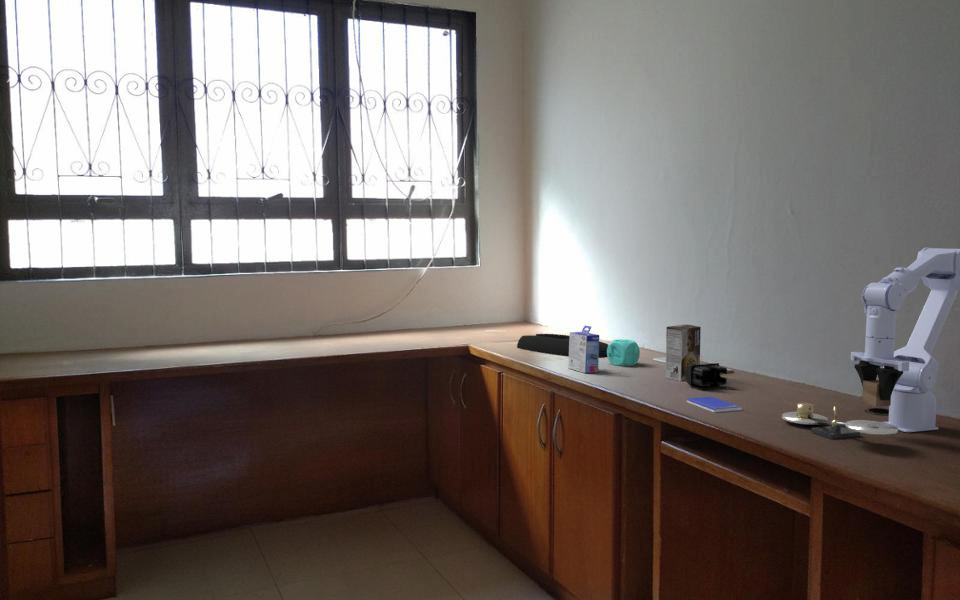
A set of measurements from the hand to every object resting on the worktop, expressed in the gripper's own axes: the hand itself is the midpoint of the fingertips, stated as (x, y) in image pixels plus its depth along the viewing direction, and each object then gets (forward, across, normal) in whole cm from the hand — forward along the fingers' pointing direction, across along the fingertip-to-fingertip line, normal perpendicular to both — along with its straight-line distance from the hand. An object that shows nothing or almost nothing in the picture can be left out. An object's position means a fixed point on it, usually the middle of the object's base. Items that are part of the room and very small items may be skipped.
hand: (876, 397), depth 169 cm
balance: (+8, -3, -8) cm, 12 cm away
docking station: (+9, -130, -19) cm, 132 cm away
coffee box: (+9, -70, -6) cm, 71 cm away
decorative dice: (+9, -97, -12) cm, 98 cm away
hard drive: (+9, -34, -19) cm, 40 cm away
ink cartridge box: (+9, -89, -30) cm, 95 cm away
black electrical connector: (+9, -56, -7) cm, 57 cm away
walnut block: (+1, 0, 0) cm, 1 cm away
